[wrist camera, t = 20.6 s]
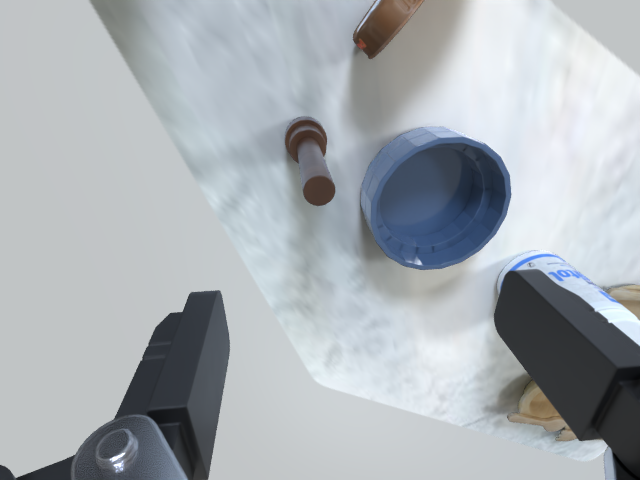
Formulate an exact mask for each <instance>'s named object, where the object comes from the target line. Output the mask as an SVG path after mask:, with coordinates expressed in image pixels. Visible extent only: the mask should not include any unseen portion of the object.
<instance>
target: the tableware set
mask: <svg viewBox="0 0 640 480" xmlns="http://www.w3.org/2000/svg"><path fill="white" fill-rule="evenodd" d="M606 293H607V294H609V295H610V296H611V297H612V298H614V299H615V300H616V301H618V302H619V303H620V304H621V305H623V306H624V307H625V308H626V309H628V310H629V311H630V312H631V313H633V314H634V315H635V316H636V317H637V319H638V320H640V285H627V286H622V287H618V288H610V289H608V290H607V292H606ZM518 412H519V413H510V414H509V415H508V416H507V418H508V420H509V421H510V422H516V423H524V424H532V425H540V426H543V427H544V429H545V430H546V431H549V432H555V431H558V430H561V429H562V428H565V430H562V431H561V432H560V433H561V434H559V435H558V437H556V439H555V440H556V441H571V440H574V439H577V437H576V435H575V434H574V433H573V432H572V430H571V429H570V428H569V426H568V425H567V424H566V422H565V421H564V420H563V418H562V417H561V416H560V414H559V413H558V412H557V410H556V409H555V408H554V407H553V405H552V404H551V403H550V401H549V400H548V399H547V397H546V396H545V395H544V393H543V392H542V391H541V389H540V388H539V387H538V386H537V384H536V383H535V382H534V380H532V381H531V382H530V383H529V384H528V385H527V386H526V388H525V390H524V394H523V395H522V397H521V399H520V401H519V403H518ZM598 440H603V439H598Z"/></svg>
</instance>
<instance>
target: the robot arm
mask: <svg viewBox="0 0 640 480" xmlns="http://www.w3.org/2000/svg"><path fill="white" fill-rule="evenodd" d="M494 322H495V327H496V330H497V332H498V334H499V335H500V337H501V338H502V340H503V341H504V342H505V343H506V345H507V346H508V347H509V349H510V350H511V351H512V353H513V354H514V355H515V357H516V358H517V359H518V361H519V362H520V363H521V364H522V366H523V367H524V368H525V370H526V371H527V372H528V374H529V375H530V376H531V378H532V379H533V380H534V382H535V383H536V384H537V386H538V387H539V388H540V389H541V391H542V392H543V393H544V395H545V396H546V397H547V399H548V400H549V401H550V403H551V404H552V405H553V407H554V408H555V409H556V410H557V412H558V413H559V414H560V416H561V417H562V418H563V420H564V421H565V422H566V424H567V425H568V426H569V428H570V429H571V430H572V432H573V433H574V434H575V435H576V437H577V438H578V439H579V441H585V440H594V439H603V440H604V441H605V442H606V444H607V445H608V447H607V448H606V450H605V452H604V469H605V480H640V346H639V345H638V344H637V343H636V342H634V341H633V340H632V339H631V338H630V337H628V336H627V335H626V334H625V333H624V332H622V331H621V330H620V329H619V328H617V327H616V326H615V325H614V324H613V323H609V322H608V319H607V318H605V317H604V316H603V315H602V314H601V313H599V312H598V311H595V308H593V307H592V306H591V305H590V304H589V303H587V302H586V301H585V300H584V299H582V298H581V297H580V296H579V295H577V294H575V293H573V292H571V291H569V290H567V289H565V288H563V287H561V286H560V285H558V284H556V283H555V282H554V281H553V280H552V279H550V278H549V277H548V276H547V275H546V274H545V273H543V272H542V271H541V270H539V269H526V270H512V271H508V272H507V273H506V274H505V276H504V279H503V283H502V287H501V290H500V294H499V298H498V302H497V305H496V309H495V313H494ZM229 352H230V340H229V332H228V326H227V321H226V315H225V310H224V304H223V300H222V295H221V292H220V291H219V290H218V291H204V292H192V293H190V294H189V296H188V299H187V302H186V304H185V307H184V310H183V312H177V313H170V314H169V315H168V316H167V317H166V318H165V319H164V320H163V321H162V322H161V323H160V324H159V325H158V326H157V327H156V328H155V330H154V332H153V335H152V337H151V339H150V342H149V346H148V347H147V348H146V350H145V352H144V355H143V357H142V358H143V359H142V361H140V364H139V366H138V368H137V370H136V372H135V374H134V377H133V379H132V381H131V383H130V385H129V388H128V390H127V392H126V394H125V397H124V399H123V401H122V403H121V405H120V408H119V410H118V412H117V414H116V416H115V418H114V420H112V421H110V422H108V423H106V424H104V425H103V426H101V427H100V428H98V429H97V430H96V431H95V432H94V433H92V434H91V435H90V436H89V437H88V438H87V439H86V440H85V441H84V443H83V444H82V445H81V446H80V448H79V449H78V451H77V453H76V454H75V455H73V456H72V457H69V458H67V459H65V460H62V461H60V462H57V463H54V464H52V465H49V466H46V467H44V468H41V469H39V470H36V471H33V472H31V473H28V474H26V475H23V476H20V477H18V478H15V477H14V475H13V474H12V473H11V471H10V470H9V469H8V468H6V467H5V466H2V465H0V480H208V477H209V471H210V465H211V459H212V453H213V448H214V441H215V436H216V430H217V424H218V418H219V413H220V406H221V401H222V395H223V389H224V383H225V377H226V372H227V366H228V359H229Z"/></svg>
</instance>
